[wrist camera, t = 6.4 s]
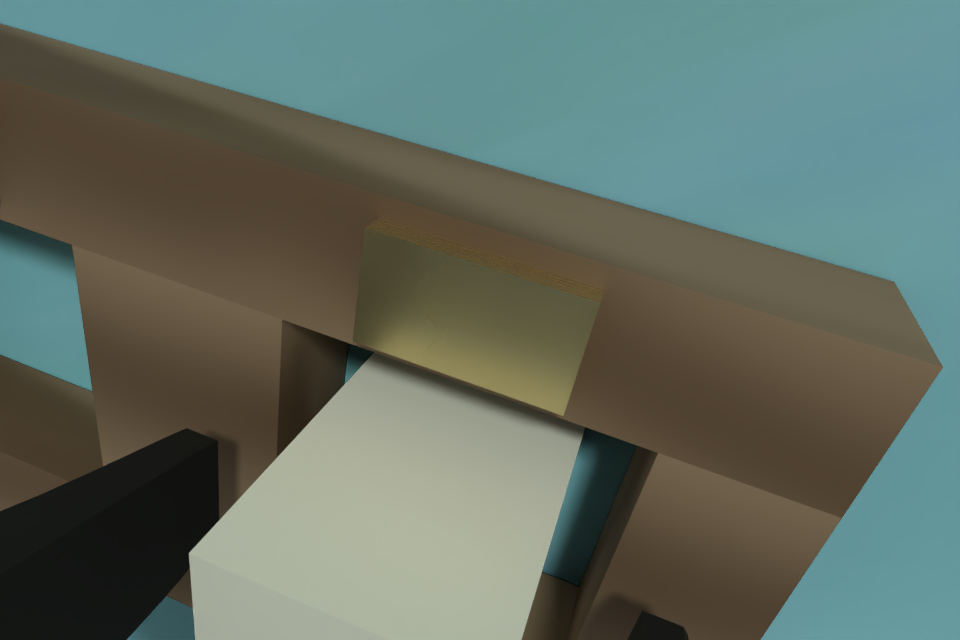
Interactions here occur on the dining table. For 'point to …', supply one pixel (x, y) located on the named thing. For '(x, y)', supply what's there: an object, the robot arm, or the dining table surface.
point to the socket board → (323, 353)
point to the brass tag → (473, 315)
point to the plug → (391, 519)
